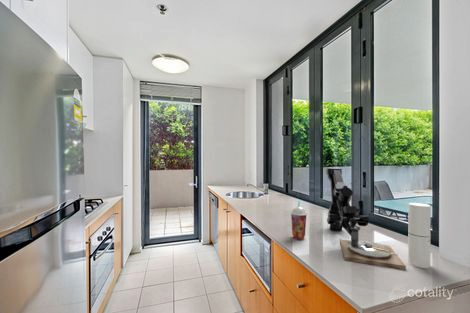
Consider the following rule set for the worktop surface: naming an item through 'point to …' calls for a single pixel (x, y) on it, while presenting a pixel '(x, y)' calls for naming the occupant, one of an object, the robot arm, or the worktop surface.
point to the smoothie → (298, 222)
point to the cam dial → (367, 246)
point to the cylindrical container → (419, 234)
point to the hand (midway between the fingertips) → (352, 236)
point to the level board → (387, 262)
